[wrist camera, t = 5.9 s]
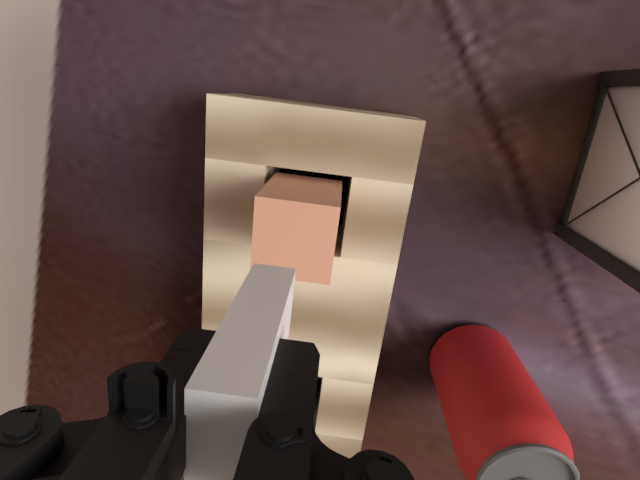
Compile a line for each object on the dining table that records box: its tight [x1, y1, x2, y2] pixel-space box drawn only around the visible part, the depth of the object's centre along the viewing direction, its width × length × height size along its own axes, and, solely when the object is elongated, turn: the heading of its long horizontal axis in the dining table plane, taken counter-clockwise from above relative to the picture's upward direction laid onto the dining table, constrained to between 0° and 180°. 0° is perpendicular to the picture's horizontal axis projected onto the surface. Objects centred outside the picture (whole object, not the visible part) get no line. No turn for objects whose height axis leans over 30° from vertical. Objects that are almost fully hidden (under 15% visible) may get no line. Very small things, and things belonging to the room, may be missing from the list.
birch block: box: [202, 93, 426, 458], centre depth 29 cm, size 26×12×6 cm, turn 173°
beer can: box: [429, 325, 580, 480], centre depth 28 cm, size 7×7×12 cm
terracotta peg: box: [250, 172, 343, 285], centre depth 22 cm, size 4×4×6 cm
